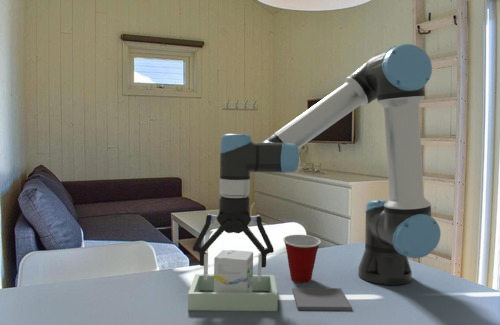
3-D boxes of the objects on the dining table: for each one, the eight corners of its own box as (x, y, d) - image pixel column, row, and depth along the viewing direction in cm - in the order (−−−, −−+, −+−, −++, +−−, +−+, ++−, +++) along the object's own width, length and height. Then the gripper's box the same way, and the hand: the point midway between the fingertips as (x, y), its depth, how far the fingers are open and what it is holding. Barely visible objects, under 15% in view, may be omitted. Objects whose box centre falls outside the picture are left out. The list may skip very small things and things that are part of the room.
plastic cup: (289, 287, 123) (290, 244, 123) (277, 275, 134) (278, 235, 133) (326, 284, 126) (327, 242, 125) (311, 272, 136) (312, 233, 136)
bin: (273, 289, 121) (274, 275, 121) (277, 311, 107) (277, 294, 106) (195, 288, 121) (195, 274, 121) (187, 310, 106) (187, 293, 106)
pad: (340, 291, 120) (340, 288, 120) (351, 310, 107) (351, 307, 107) (292, 290, 120) (292, 287, 120) (297, 309, 107) (297, 306, 107)
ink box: (246, 307, 109) (247, 259, 108) (212, 304, 111) (213, 257, 110) (253, 294, 117) (253, 251, 116) (221, 292, 119) (222, 248, 118)
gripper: (283, 194, 116) (280, 275, 117) (186, 192, 116) (185, 273, 117) (285, 199, 109) (283, 285, 110) (182, 196, 108) (180, 282, 110)
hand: (232, 279), depth 114 cm, fingers open, 13 cm apart
